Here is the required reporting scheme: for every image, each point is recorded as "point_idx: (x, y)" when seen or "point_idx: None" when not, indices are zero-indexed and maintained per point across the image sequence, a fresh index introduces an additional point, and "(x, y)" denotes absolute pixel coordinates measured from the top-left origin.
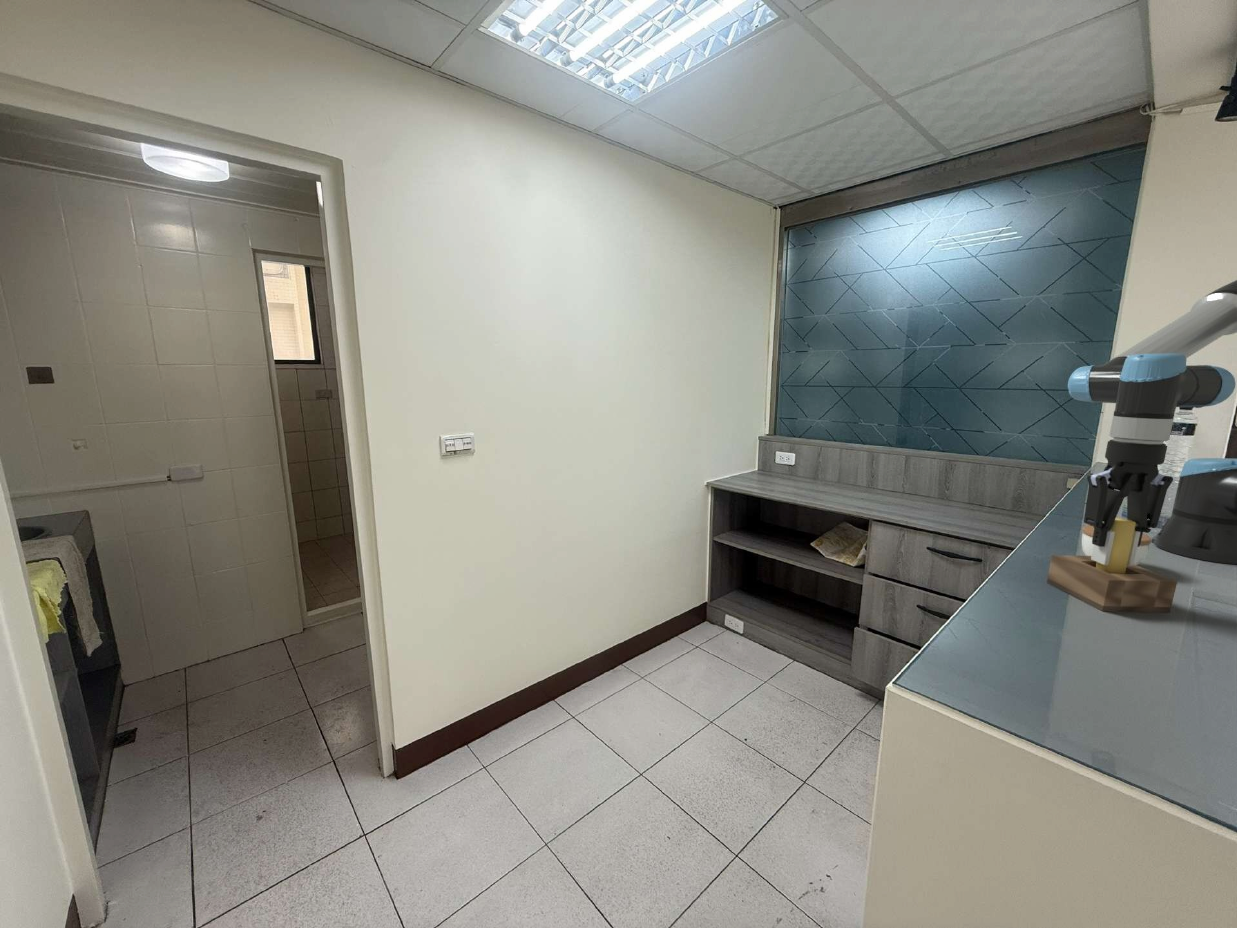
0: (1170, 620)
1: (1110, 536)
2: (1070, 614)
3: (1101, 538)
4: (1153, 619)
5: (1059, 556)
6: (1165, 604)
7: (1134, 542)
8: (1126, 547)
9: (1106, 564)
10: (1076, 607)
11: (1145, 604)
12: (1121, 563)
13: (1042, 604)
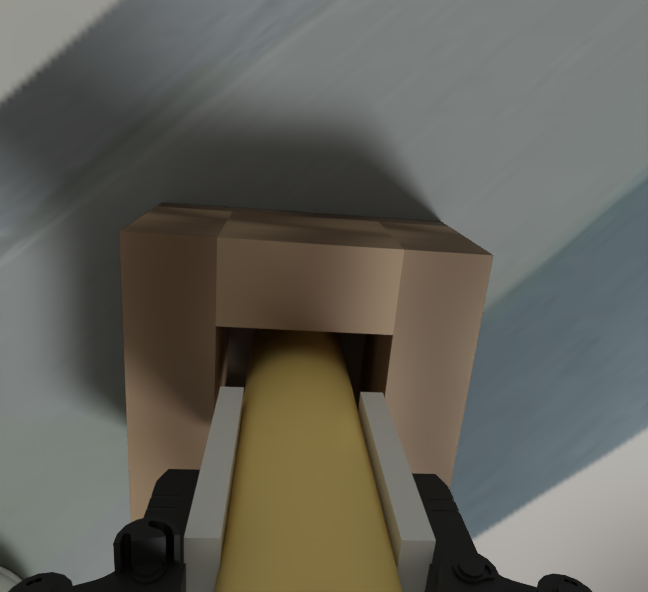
0: (237, 134)
1: (420, 511)
2: (597, 201)
3: (450, 513)
4: (302, 146)
5: None
6: (181, 210)
7: (226, 475)
8: (308, 436)
9: (371, 392)
10: (510, 256)
11: (273, 215)
12: (313, 379)
13: (616, 283)
